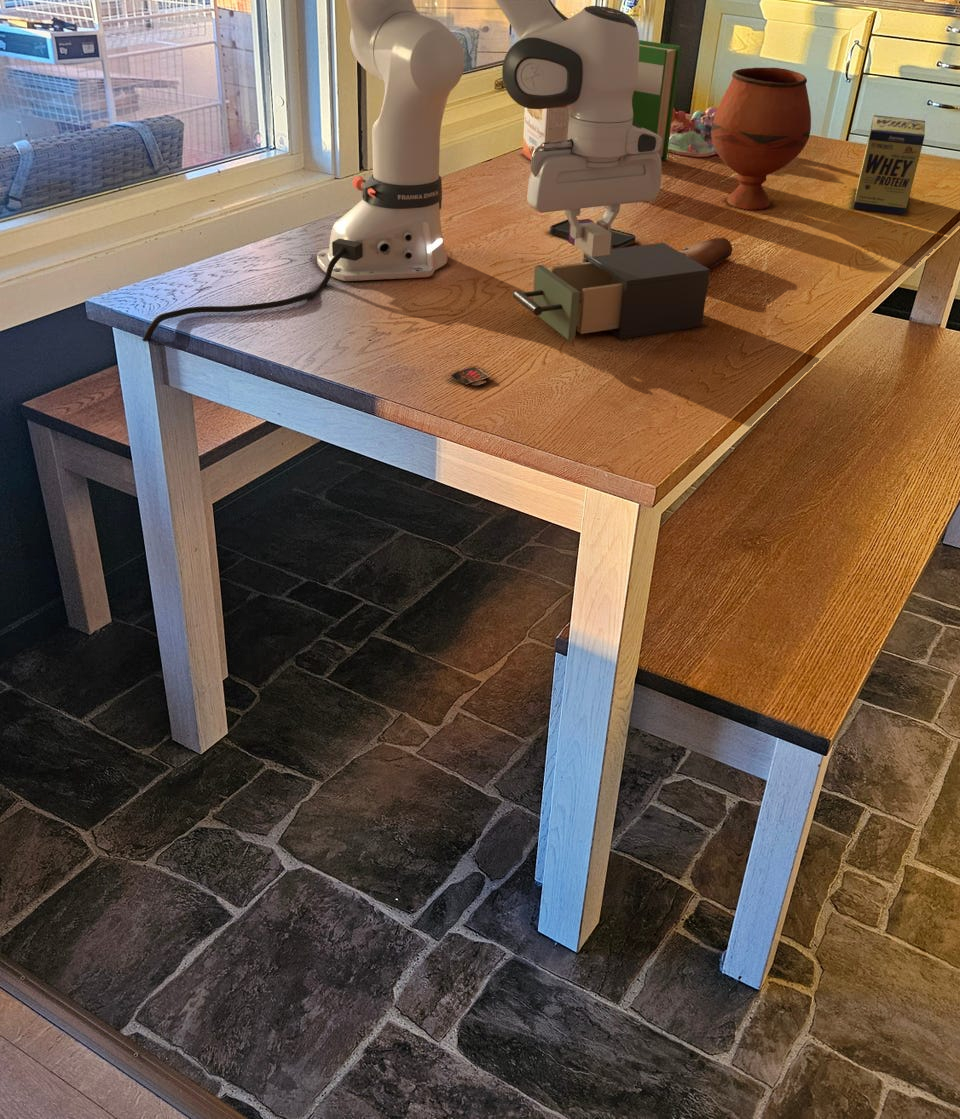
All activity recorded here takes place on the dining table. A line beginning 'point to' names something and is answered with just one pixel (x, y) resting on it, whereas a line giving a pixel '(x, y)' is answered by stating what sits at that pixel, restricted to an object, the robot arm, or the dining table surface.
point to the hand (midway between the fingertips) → (590, 235)
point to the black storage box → (655, 288)
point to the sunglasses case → (708, 251)
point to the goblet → (761, 128)
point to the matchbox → (470, 376)
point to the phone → (617, 237)
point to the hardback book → (656, 89)
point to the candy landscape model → (692, 134)
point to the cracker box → (544, 127)
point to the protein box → (889, 164)
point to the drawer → (575, 298)
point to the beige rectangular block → (593, 239)
